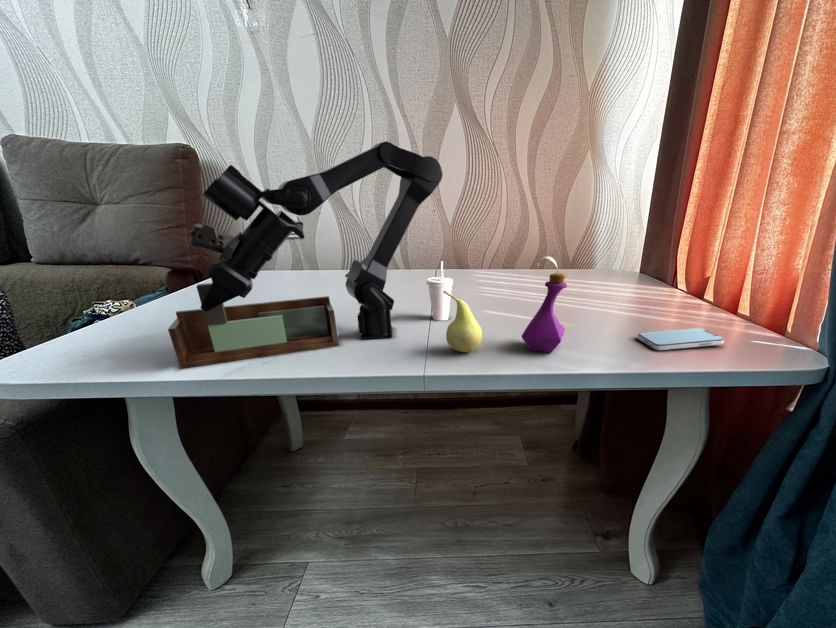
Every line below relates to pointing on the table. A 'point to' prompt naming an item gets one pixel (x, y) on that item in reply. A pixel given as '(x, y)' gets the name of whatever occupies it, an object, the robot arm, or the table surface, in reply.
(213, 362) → the brown wooden box
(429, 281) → the smoothie
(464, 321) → the fruit
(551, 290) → the perfume bottle
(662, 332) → the smartphone
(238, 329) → the green grey l-shaped block
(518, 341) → the table surface
